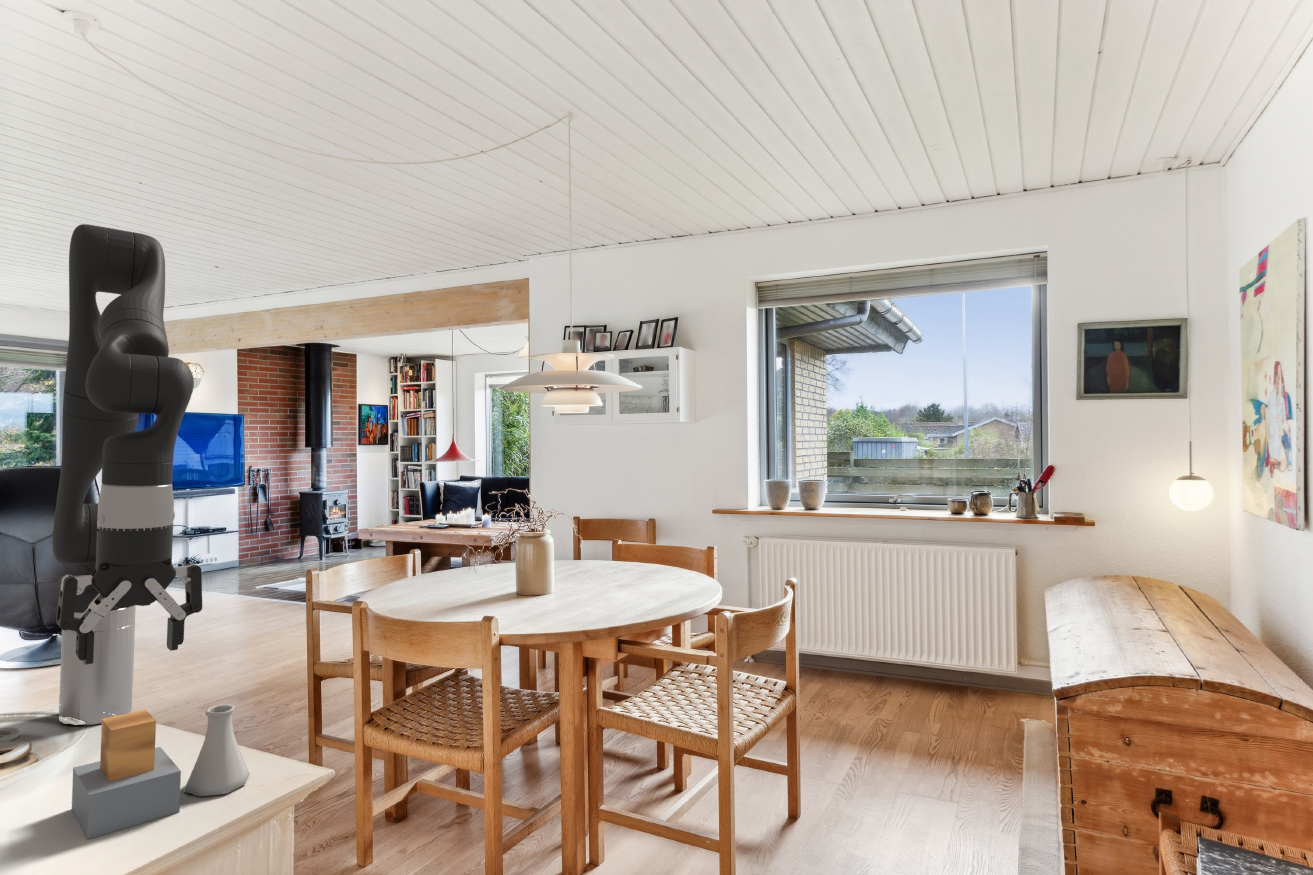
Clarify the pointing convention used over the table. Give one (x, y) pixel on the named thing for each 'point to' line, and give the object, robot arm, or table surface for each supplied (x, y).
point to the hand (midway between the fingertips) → (131, 655)
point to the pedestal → (124, 796)
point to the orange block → (127, 745)
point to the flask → (218, 757)
